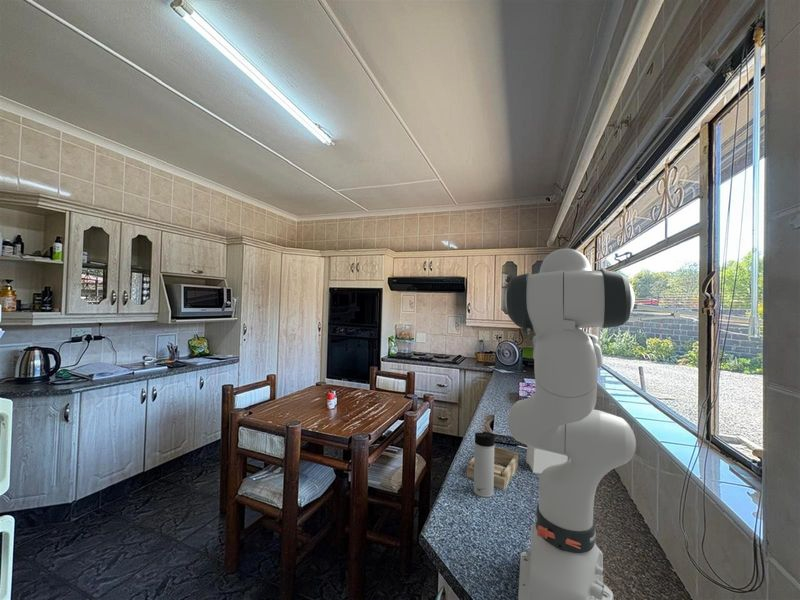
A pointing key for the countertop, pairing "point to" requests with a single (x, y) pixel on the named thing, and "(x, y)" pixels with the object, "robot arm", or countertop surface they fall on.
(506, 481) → the birch rack
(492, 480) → the travel mug
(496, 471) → the offcut top
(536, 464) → the milk
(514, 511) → the countertop surface
